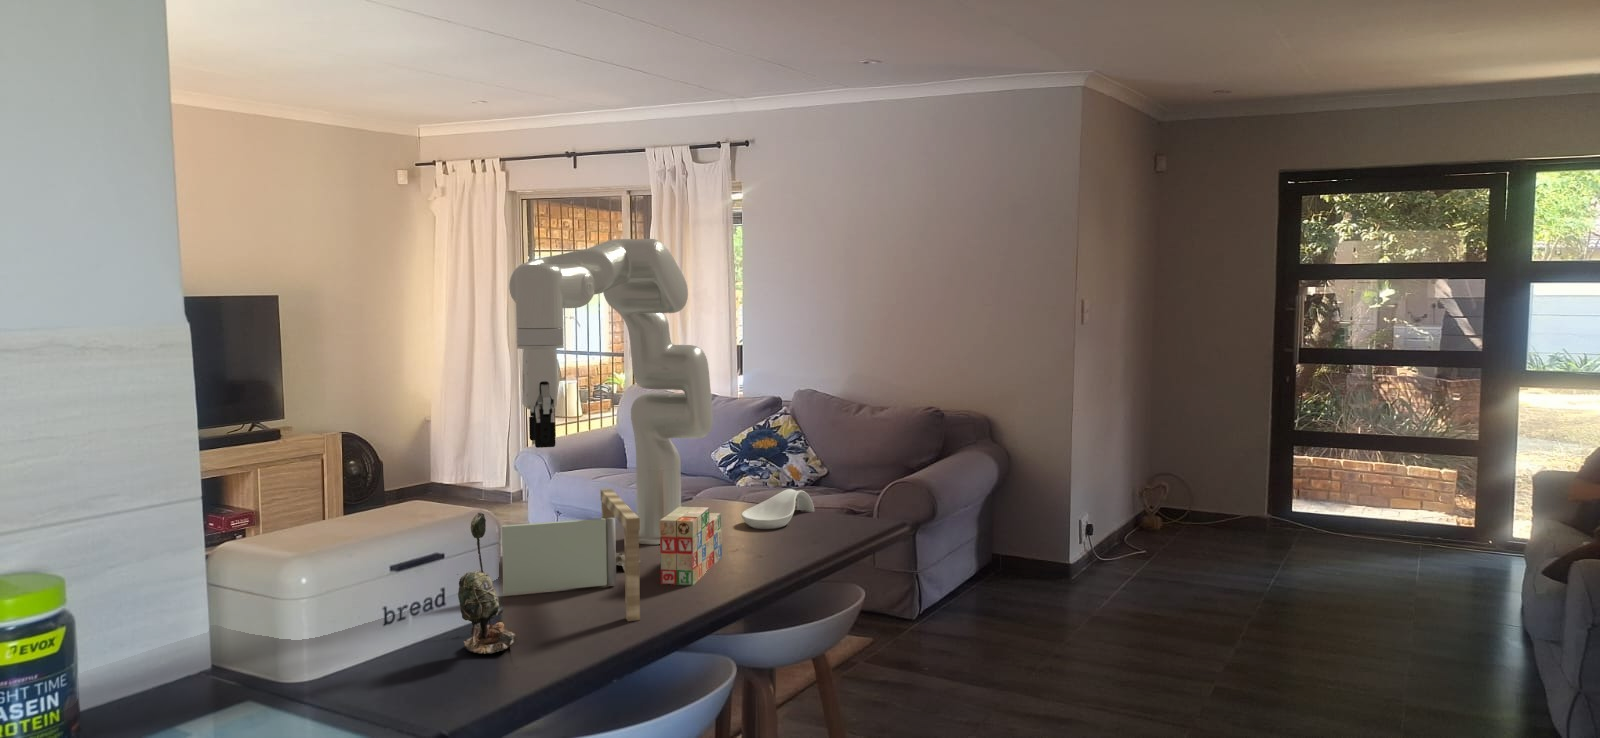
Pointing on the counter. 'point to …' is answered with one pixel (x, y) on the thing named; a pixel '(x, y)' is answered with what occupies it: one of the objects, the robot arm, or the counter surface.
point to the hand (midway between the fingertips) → (542, 443)
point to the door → (558, 555)
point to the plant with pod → (482, 604)
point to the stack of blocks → (689, 544)
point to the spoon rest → (777, 509)
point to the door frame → (626, 548)
